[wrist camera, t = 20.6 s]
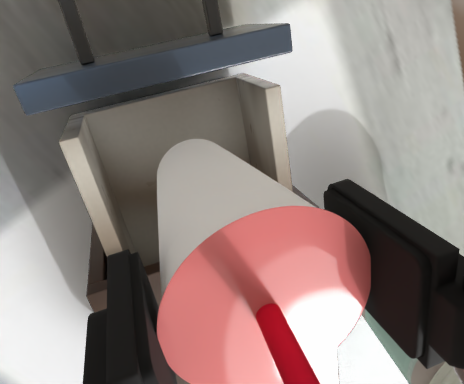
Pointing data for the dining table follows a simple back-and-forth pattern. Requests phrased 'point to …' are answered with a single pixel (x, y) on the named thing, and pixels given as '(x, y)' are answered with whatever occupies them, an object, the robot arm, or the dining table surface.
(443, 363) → the coffee cup
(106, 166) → the drawer
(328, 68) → the dining table surface
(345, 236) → the cup
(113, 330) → the robot arm
